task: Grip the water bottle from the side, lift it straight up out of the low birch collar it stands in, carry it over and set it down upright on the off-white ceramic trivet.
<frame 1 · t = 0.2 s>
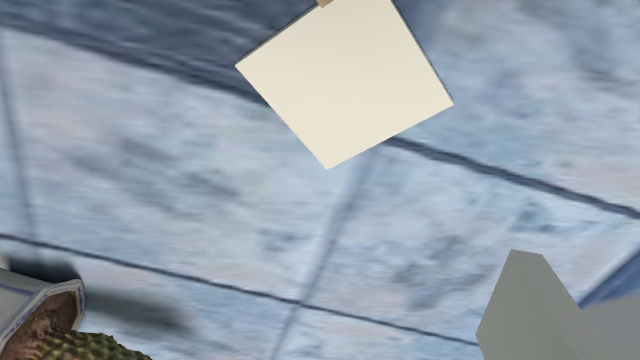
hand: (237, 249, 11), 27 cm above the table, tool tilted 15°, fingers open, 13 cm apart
potted plant: (84, 292, 62), on the table
trivet: (345, 80, 38), on the table
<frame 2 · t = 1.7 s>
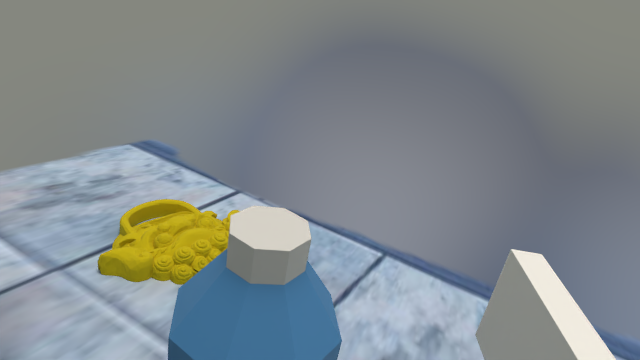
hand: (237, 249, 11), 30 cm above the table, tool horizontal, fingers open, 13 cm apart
door knocker: (175, 246, 61), on the table
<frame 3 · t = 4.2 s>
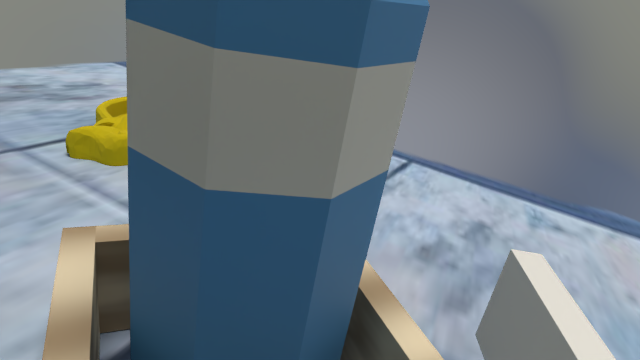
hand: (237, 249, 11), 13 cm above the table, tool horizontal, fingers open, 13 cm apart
door knocker: (163, 142, 51), on the table
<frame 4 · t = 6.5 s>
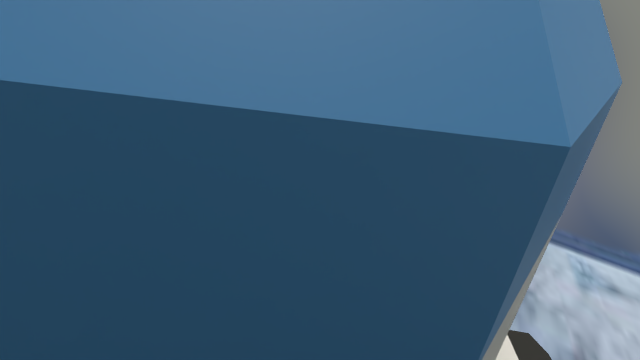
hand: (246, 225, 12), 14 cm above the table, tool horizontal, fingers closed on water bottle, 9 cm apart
when the fingers open (15 cm above the table, at t = 12.5 s): water bottle drops 1 cm, resting on trivet.
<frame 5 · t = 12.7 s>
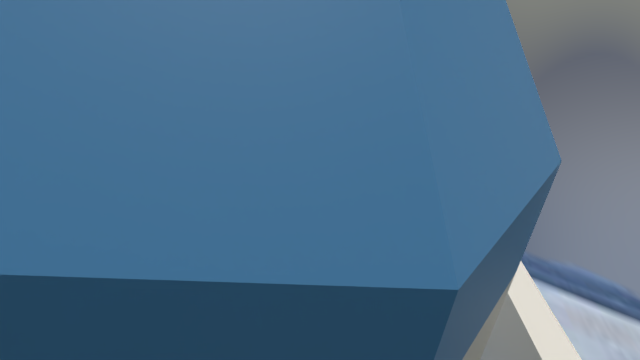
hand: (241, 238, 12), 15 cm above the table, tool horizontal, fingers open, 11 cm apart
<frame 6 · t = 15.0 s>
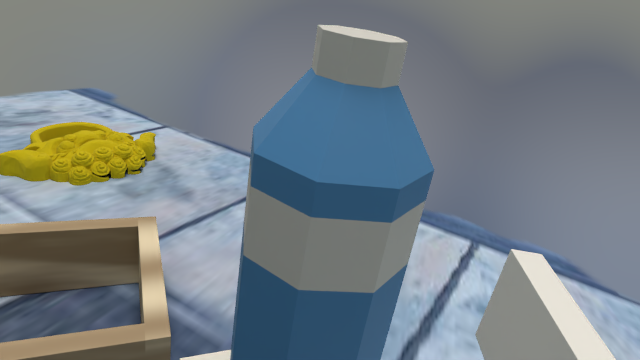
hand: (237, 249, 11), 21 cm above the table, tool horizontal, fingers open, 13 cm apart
door knocker: (85, 161, 63), on the table
holder collar: (55, 340, 34), on the table
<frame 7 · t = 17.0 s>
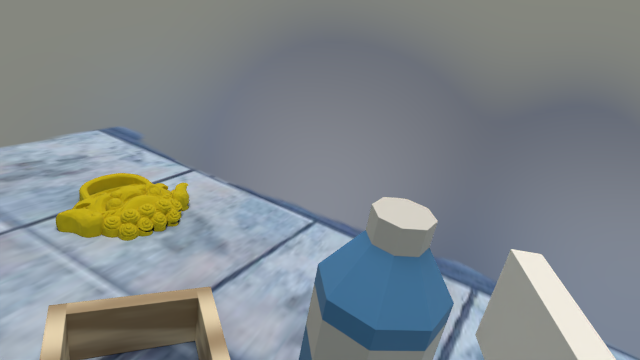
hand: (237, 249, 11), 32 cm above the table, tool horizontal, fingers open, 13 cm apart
door knocker: (128, 212, 70), on the table
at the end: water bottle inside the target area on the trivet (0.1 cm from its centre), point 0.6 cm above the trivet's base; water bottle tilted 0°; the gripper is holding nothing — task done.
